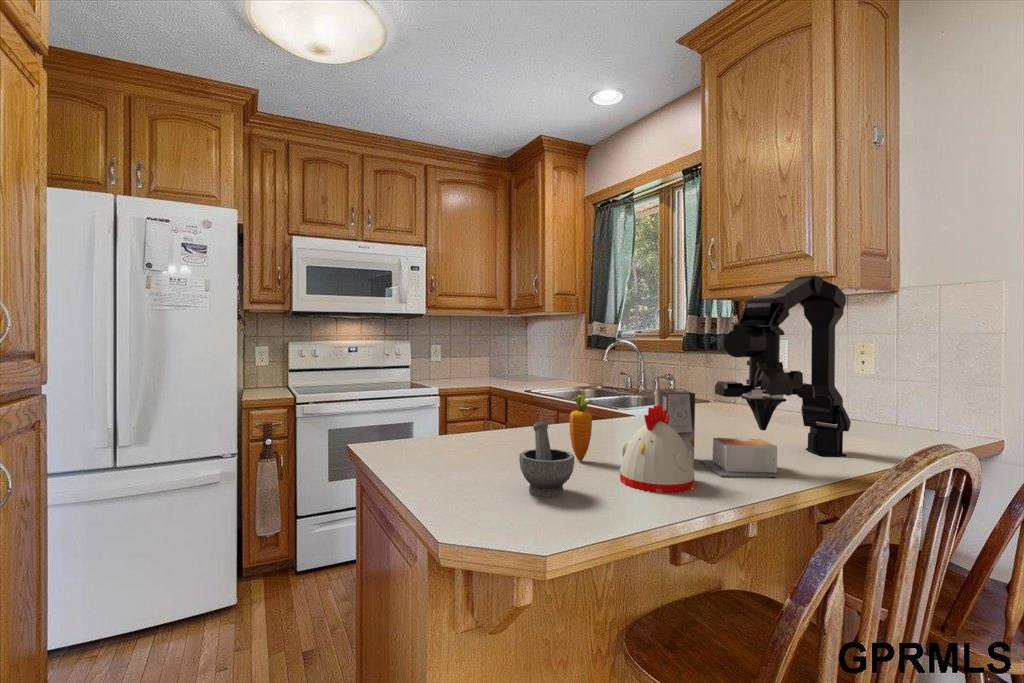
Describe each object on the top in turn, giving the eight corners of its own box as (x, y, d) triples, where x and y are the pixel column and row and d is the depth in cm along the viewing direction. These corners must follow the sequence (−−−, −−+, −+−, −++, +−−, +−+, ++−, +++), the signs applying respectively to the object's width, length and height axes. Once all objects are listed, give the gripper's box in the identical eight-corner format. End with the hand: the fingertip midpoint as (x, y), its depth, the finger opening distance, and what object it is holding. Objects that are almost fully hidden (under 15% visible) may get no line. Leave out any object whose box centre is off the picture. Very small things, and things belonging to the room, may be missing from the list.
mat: (749, 462, 117) (749, 460, 117) (775, 477, 105) (775, 475, 105) (699, 462, 117) (699, 460, 117) (720, 477, 105) (720, 475, 105)
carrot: (579, 457, 120) (580, 392, 120) (596, 462, 116) (597, 394, 116) (564, 460, 117) (565, 394, 116) (580, 465, 113) (581, 396, 113)
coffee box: (695, 467, 113) (696, 393, 112) (666, 467, 112) (667, 392, 112) (679, 456, 122) (680, 388, 122) (652, 456, 122) (653, 388, 121)
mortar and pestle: (579, 500, 90) (580, 431, 89) (526, 503, 88) (527, 432, 88) (561, 481, 101) (562, 419, 101) (514, 483, 99) (515, 420, 99)
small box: (778, 446, 107) (727, 445, 107) (777, 473, 107) (726, 472, 107) (760, 438, 115) (712, 437, 115) (759, 463, 115) (711, 462, 115)
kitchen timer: (606, 481, 101) (607, 404, 101) (643, 468, 111) (644, 398, 111) (672, 498, 91) (674, 413, 91) (707, 482, 101) (708, 405, 101)
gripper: (736, 358, 102) (734, 437, 103) (831, 359, 102) (829, 438, 103) (714, 355, 114) (713, 426, 114) (800, 356, 113) (798, 427, 114)
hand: (762, 430), depth 111 cm, fingers closed
